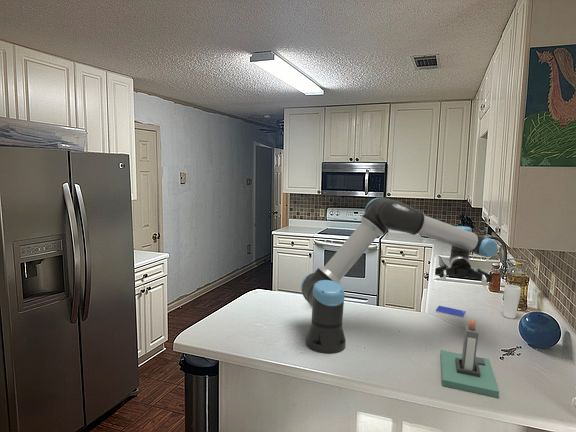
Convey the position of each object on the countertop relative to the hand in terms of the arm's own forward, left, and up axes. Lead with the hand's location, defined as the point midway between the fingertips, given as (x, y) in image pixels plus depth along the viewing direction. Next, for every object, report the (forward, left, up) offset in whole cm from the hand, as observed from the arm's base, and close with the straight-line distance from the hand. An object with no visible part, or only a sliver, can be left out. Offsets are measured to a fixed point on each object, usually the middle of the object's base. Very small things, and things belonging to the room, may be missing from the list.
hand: (464, 280), depth 145 cm
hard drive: (+22, +38, -29) cm, 53 cm away
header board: (-6, -15, -28) cm, 32 cm away
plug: (-6, -15, -28) cm, 32 cm away
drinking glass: (+48, +31, -28) cm, 63 cm away
